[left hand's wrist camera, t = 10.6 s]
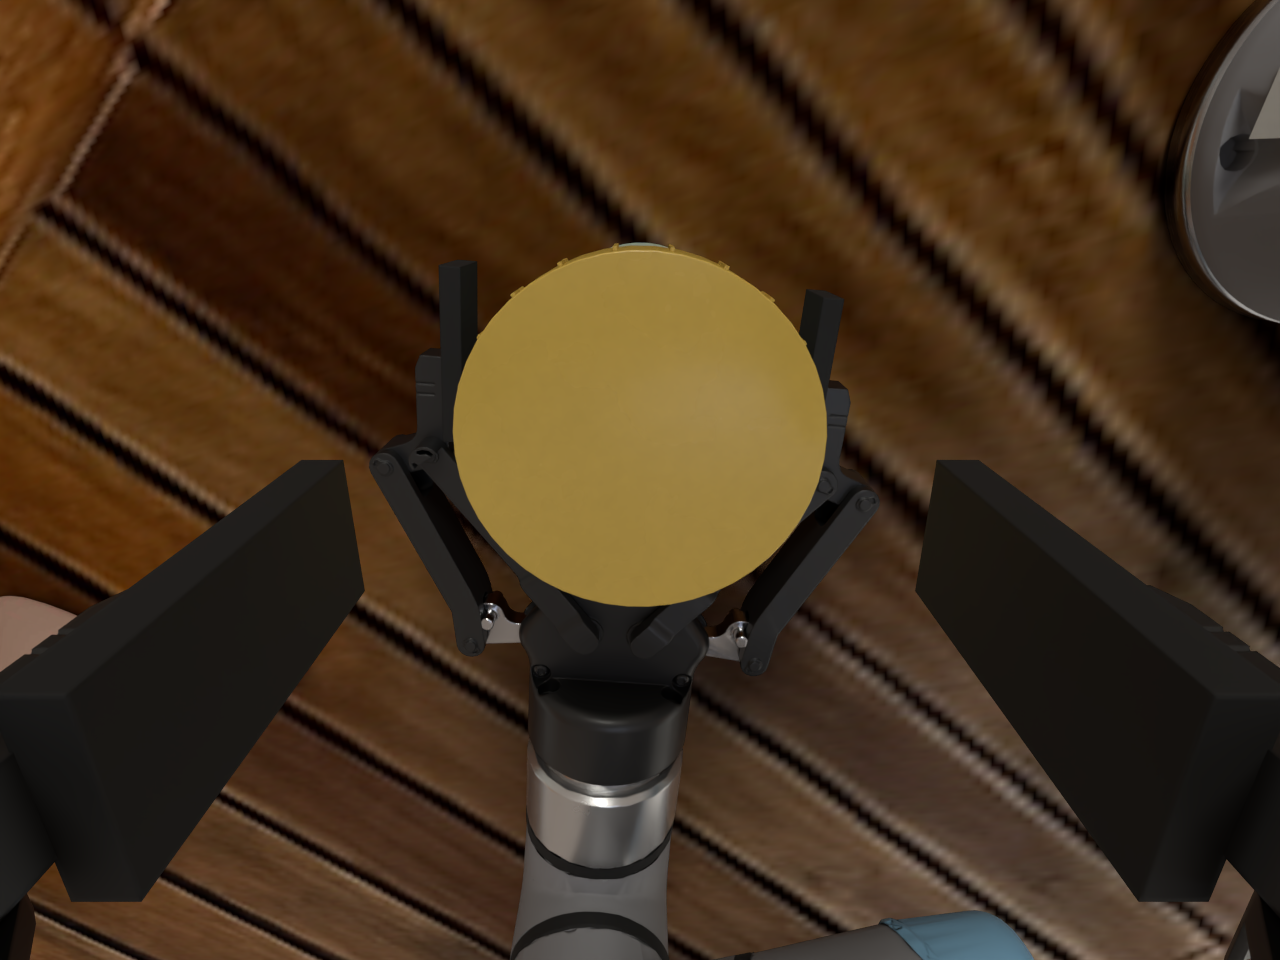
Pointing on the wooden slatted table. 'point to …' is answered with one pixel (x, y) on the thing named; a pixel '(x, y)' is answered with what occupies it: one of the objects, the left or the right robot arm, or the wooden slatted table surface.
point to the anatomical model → (26, 626)
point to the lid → (640, 426)
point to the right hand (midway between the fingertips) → (643, 277)
